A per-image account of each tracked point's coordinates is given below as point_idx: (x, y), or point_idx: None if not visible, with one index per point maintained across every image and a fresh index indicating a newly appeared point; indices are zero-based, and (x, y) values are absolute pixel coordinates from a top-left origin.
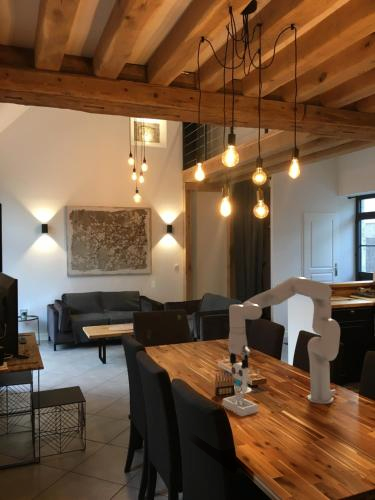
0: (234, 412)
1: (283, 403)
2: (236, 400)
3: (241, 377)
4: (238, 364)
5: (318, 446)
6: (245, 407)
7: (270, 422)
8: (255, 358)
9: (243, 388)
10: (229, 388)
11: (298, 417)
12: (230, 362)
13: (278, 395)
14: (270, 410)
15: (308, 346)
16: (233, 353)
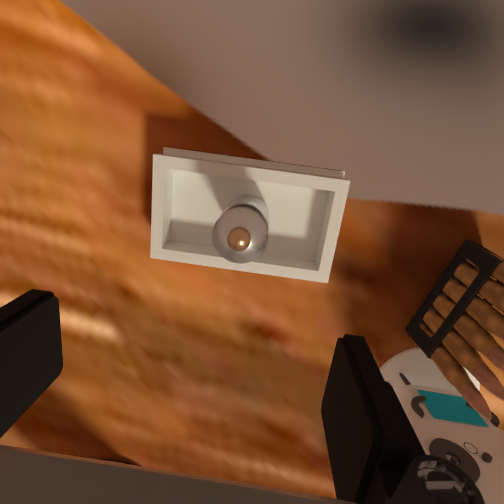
0: (227, 155)
1: (171, 390)
2: (244, 200)
3: (432, 434)
4: None
5: None
6: (157, 182)
7: (39, 201)
8: None
9: (401, 391)
10: (438, 325)
11: None
12: (356, 339)
13: (250, 439)
14: (145, 300)
15: None
16: (171, 471)
